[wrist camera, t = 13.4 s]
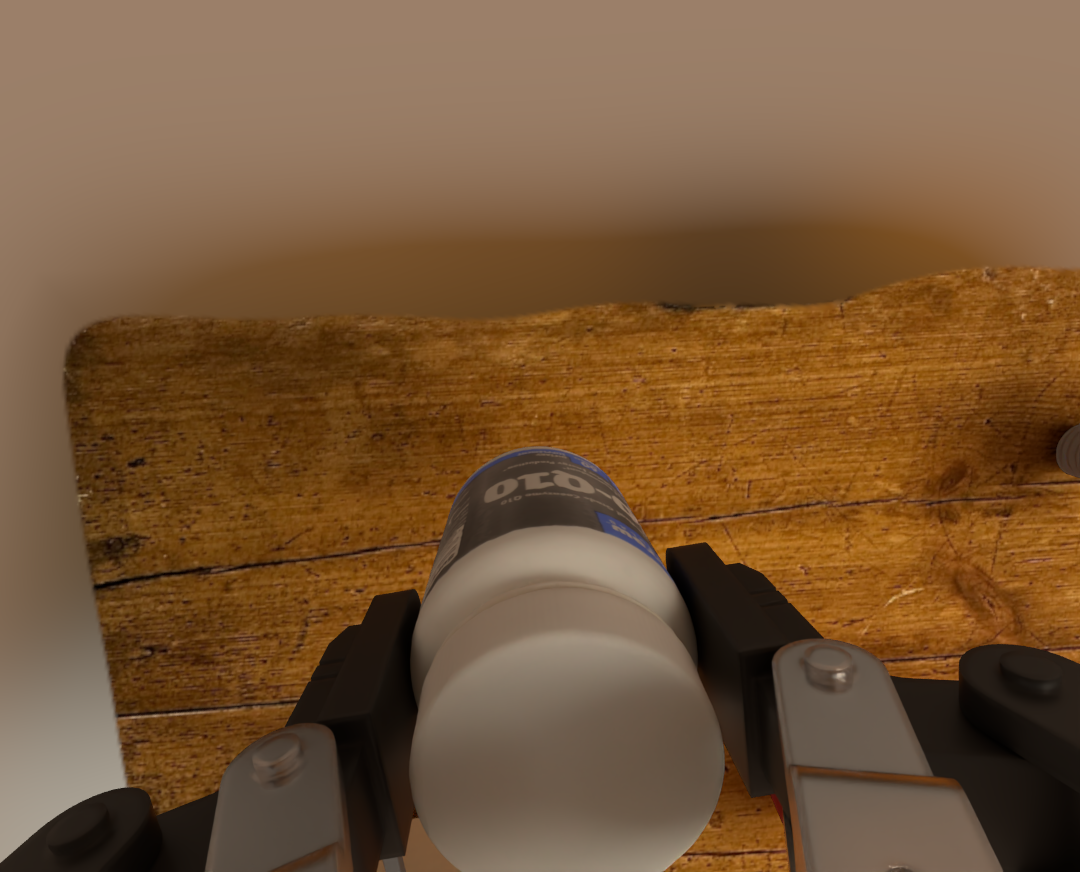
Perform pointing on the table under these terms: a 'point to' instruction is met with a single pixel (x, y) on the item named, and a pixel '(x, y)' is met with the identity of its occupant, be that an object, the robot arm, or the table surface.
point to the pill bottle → (557, 682)
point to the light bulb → (1069, 452)
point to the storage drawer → (418, 855)
